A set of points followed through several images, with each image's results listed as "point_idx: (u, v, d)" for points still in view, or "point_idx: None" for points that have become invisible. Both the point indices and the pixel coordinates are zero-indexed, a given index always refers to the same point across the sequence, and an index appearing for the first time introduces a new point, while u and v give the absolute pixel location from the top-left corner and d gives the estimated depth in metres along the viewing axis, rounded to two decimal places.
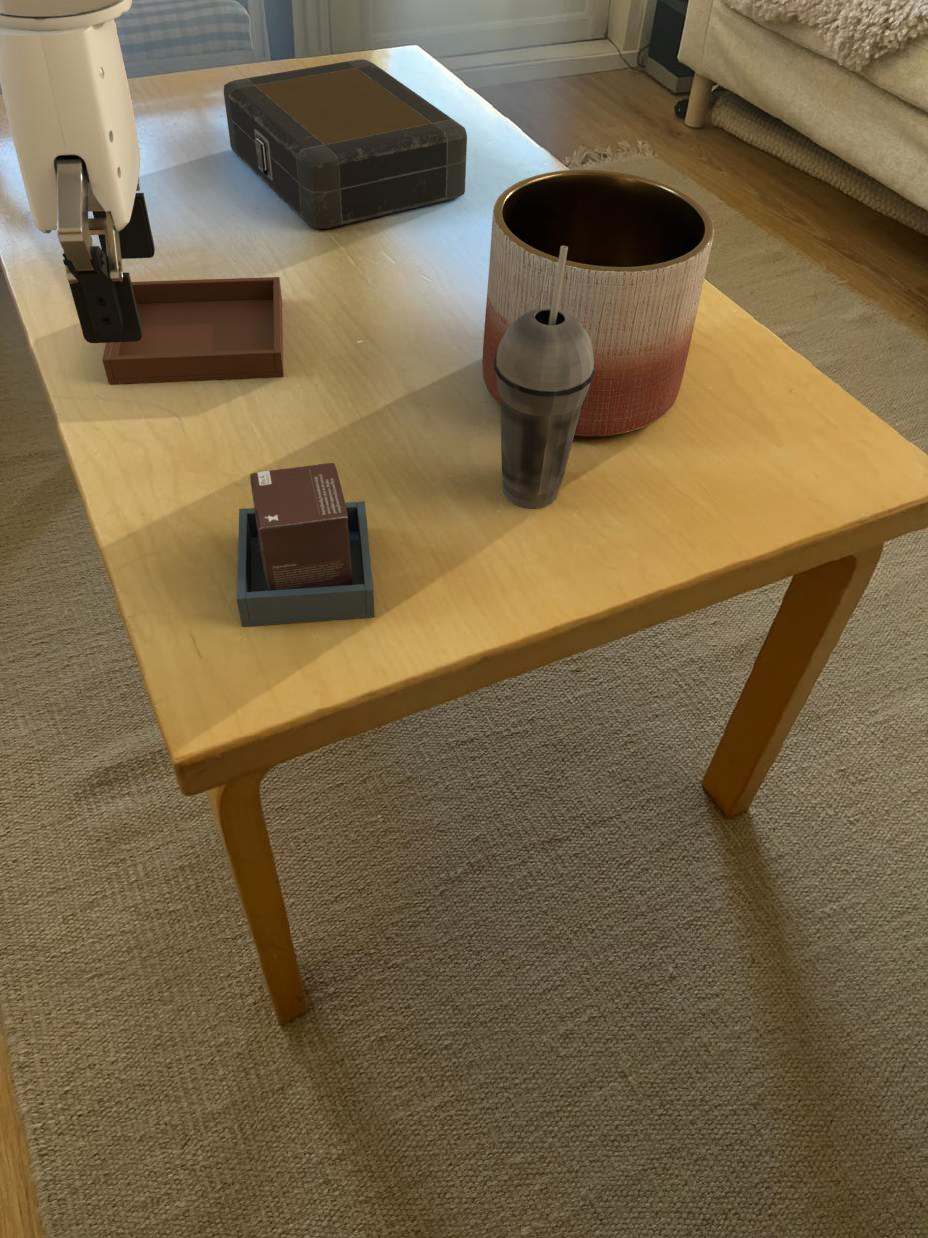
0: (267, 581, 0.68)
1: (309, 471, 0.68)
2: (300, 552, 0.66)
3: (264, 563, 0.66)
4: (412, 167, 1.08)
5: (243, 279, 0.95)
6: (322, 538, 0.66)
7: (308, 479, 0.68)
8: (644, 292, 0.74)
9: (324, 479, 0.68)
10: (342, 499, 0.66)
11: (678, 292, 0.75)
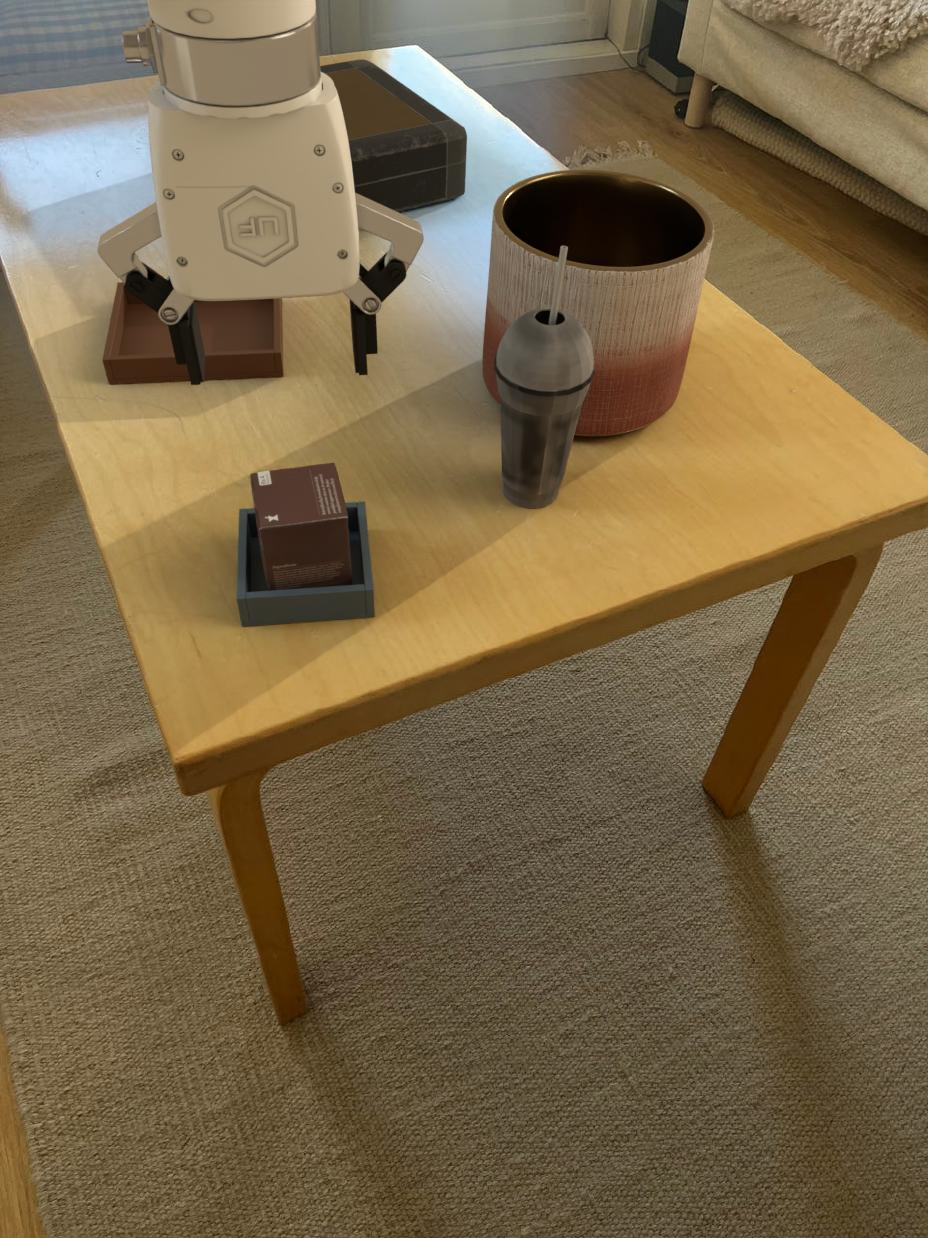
0: (267, 581, 0.68)
1: (309, 471, 0.68)
2: (300, 553, 0.66)
3: (264, 563, 0.66)
4: (412, 167, 1.08)
5: None
6: (322, 538, 0.66)
7: (308, 479, 0.68)
8: (644, 292, 0.74)
9: (324, 479, 0.68)
10: (342, 499, 0.66)
11: (678, 292, 0.75)
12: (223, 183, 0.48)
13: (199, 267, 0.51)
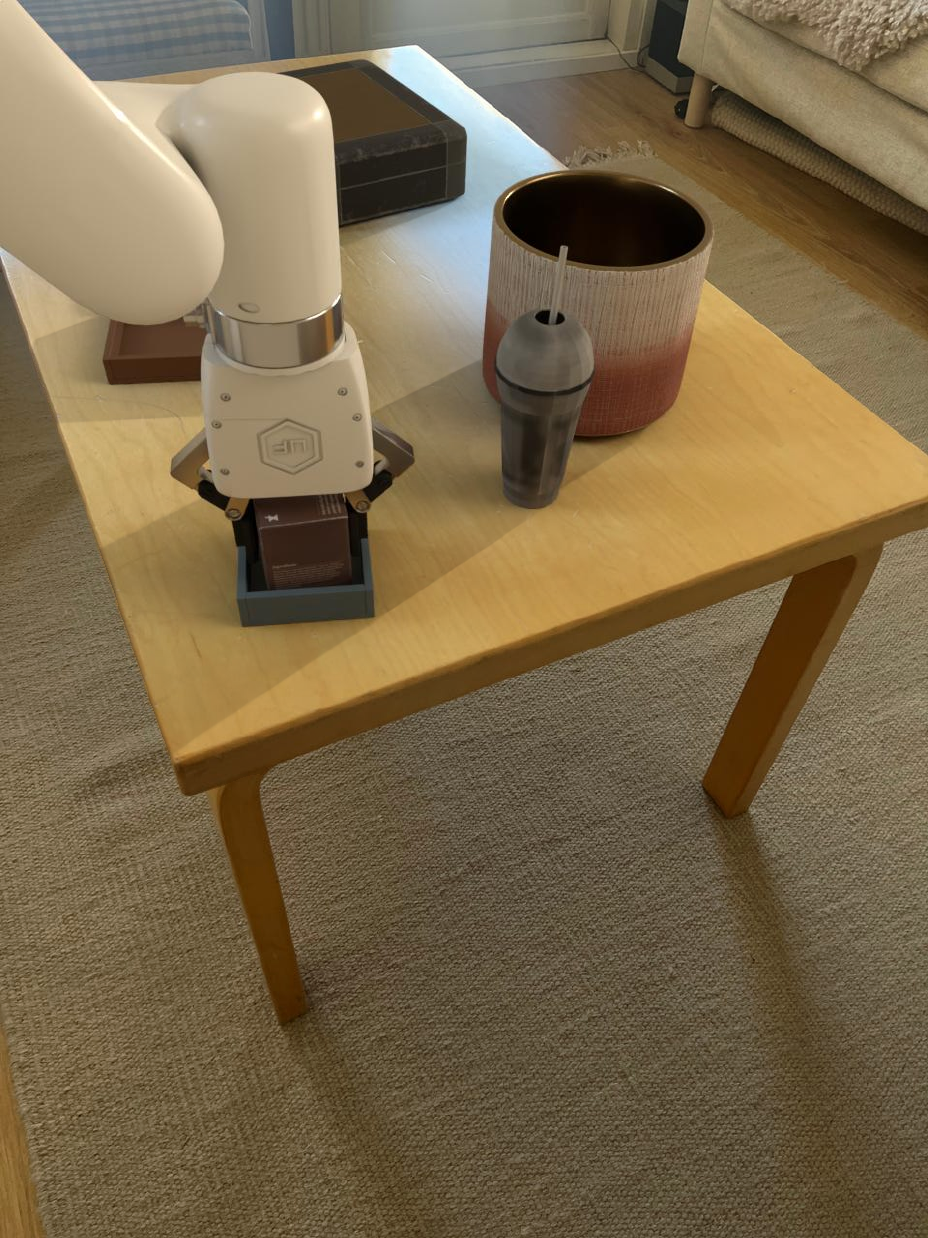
0: (267, 581, 0.68)
1: None
2: (300, 552, 0.66)
3: (264, 563, 0.66)
4: (412, 167, 1.08)
5: None
6: (322, 538, 0.66)
7: None
8: (644, 292, 0.74)
9: None
10: (342, 499, 0.66)
11: (678, 292, 0.75)
12: (262, 417, 0.58)
13: (239, 476, 0.61)
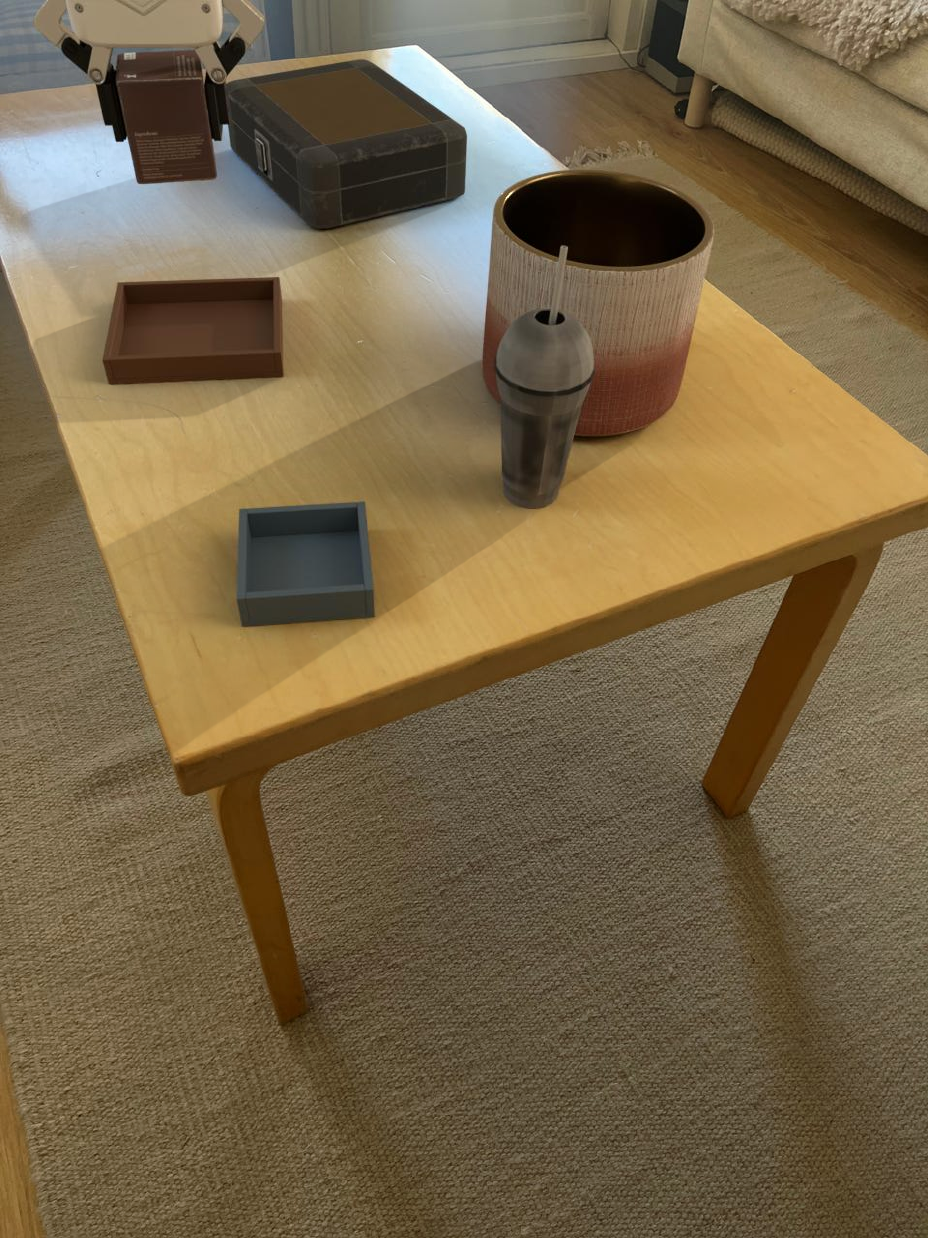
0: (131, 153, 0.72)
1: (173, 53, 0.73)
2: (160, 118, 0.71)
3: (126, 128, 0.71)
4: (412, 167, 1.08)
5: (243, 279, 0.95)
6: (180, 102, 0.71)
7: (170, 57, 0.72)
8: (644, 292, 0.74)
9: (185, 57, 0.72)
10: (199, 68, 0.71)
11: (678, 292, 0.75)
12: None
13: (92, 13, 0.66)
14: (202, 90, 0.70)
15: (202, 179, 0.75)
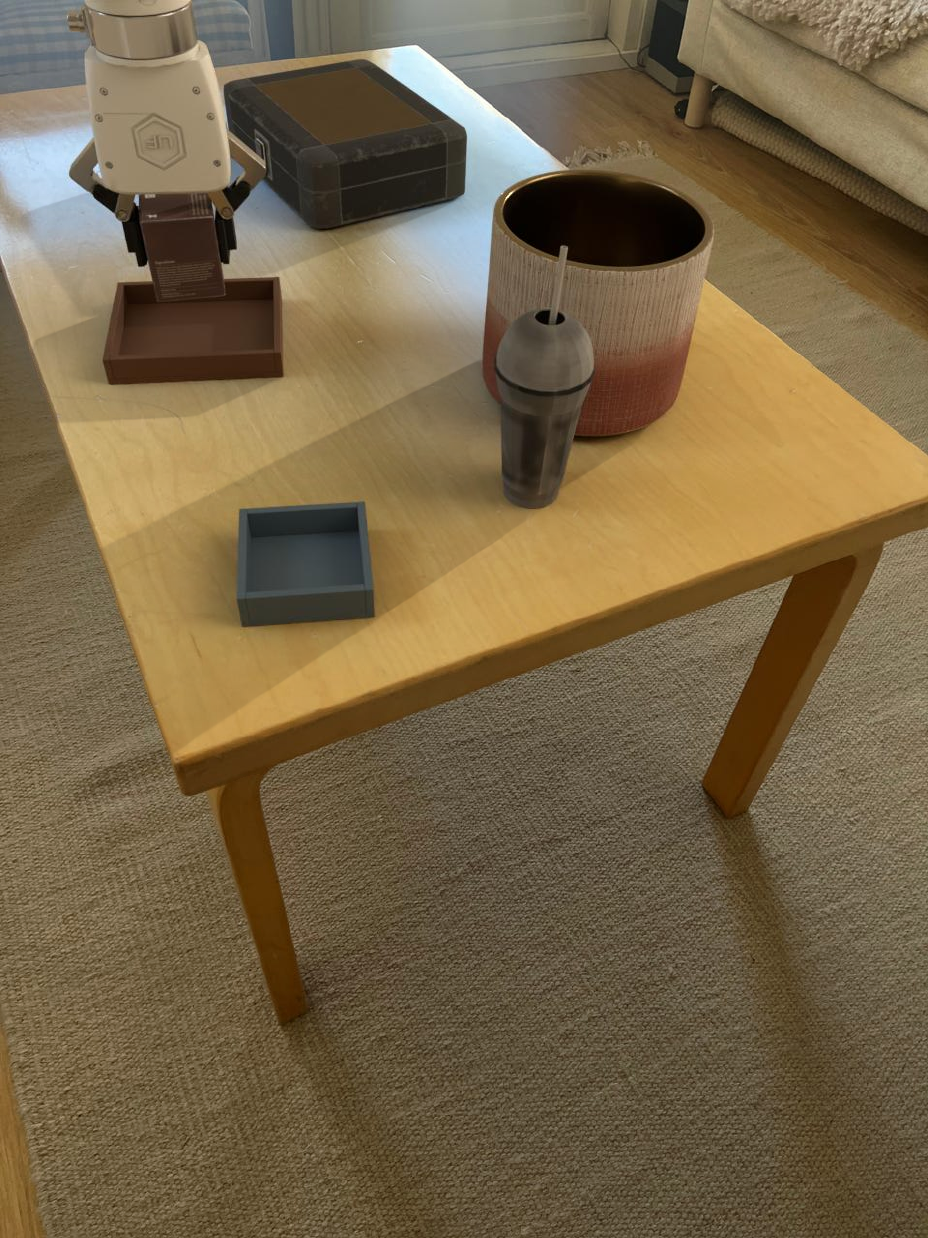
0: (152, 277, 0.84)
1: None
2: (177, 249, 0.83)
3: (148, 258, 0.83)
4: (412, 167, 1.08)
5: (243, 279, 0.95)
6: (194, 236, 0.82)
7: (185, 195, 0.84)
8: (644, 292, 0.74)
9: (198, 195, 0.84)
10: (210, 206, 0.83)
11: (678, 292, 0.75)
12: (134, 111, 0.75)
13: (120, 169, 0.78)
14: (213, 226, 0.82)
15: (213, 296, 0.86)
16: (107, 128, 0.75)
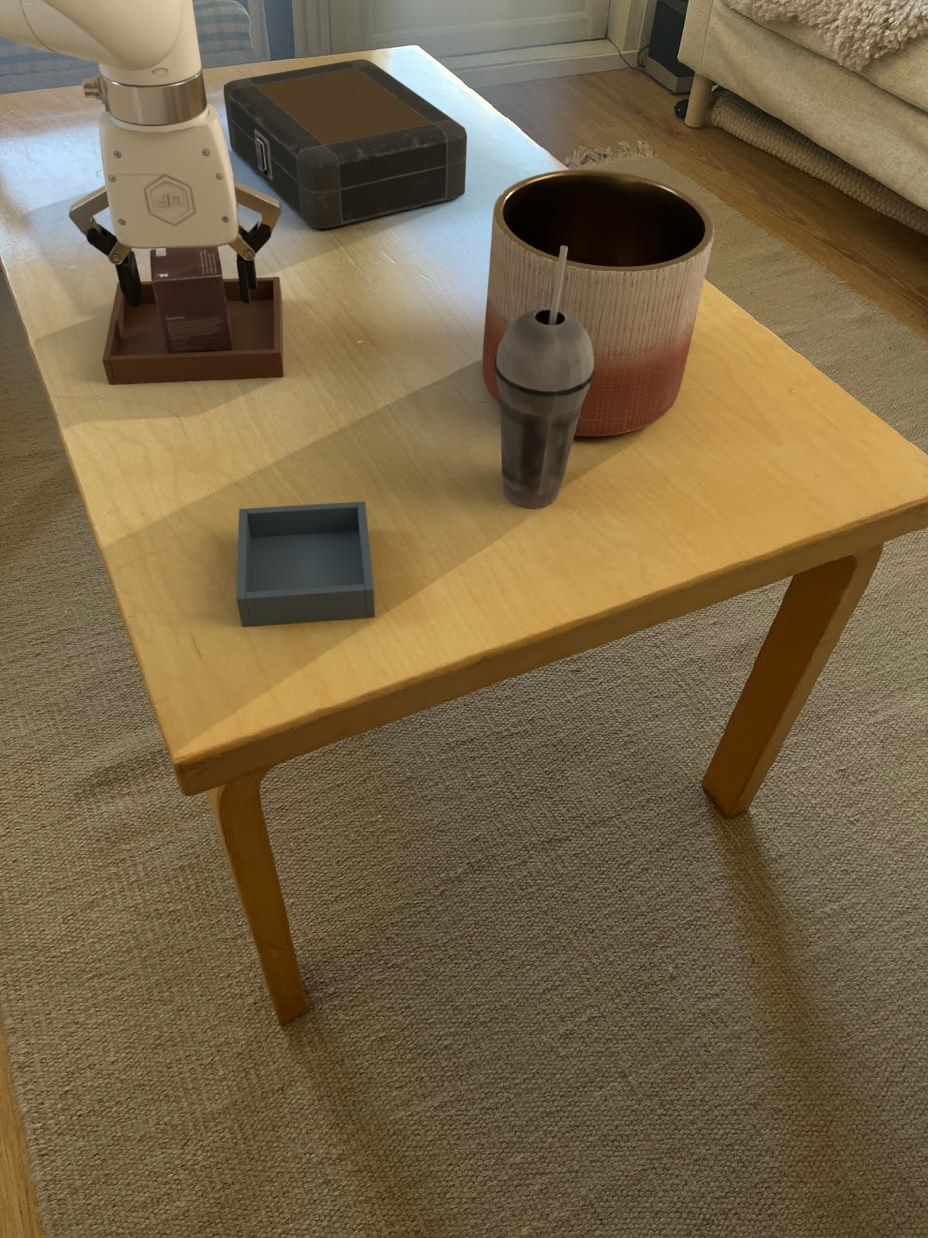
0: (163, 332, 0.88)
1: (196, 248, 0.88)
2: (187, 306, 0.86)
3: (159, 314, 0.87)
4: (412, 167, 1.08)
5: None
6: (203, 293, 0.86)
7: (194, 253, 0.88)
8: (644, 292, 0.74)
9: (206, 253, 0.88)
10: (219, 265, 0.86)
11: (678, 292, 0.75)
12: (146, 172, 0.78)
13: (133, 225, 0.81)
14: (221, 284, 0.86)
15: (221, 348, 0.90)
16: (120, 188, 0.79)
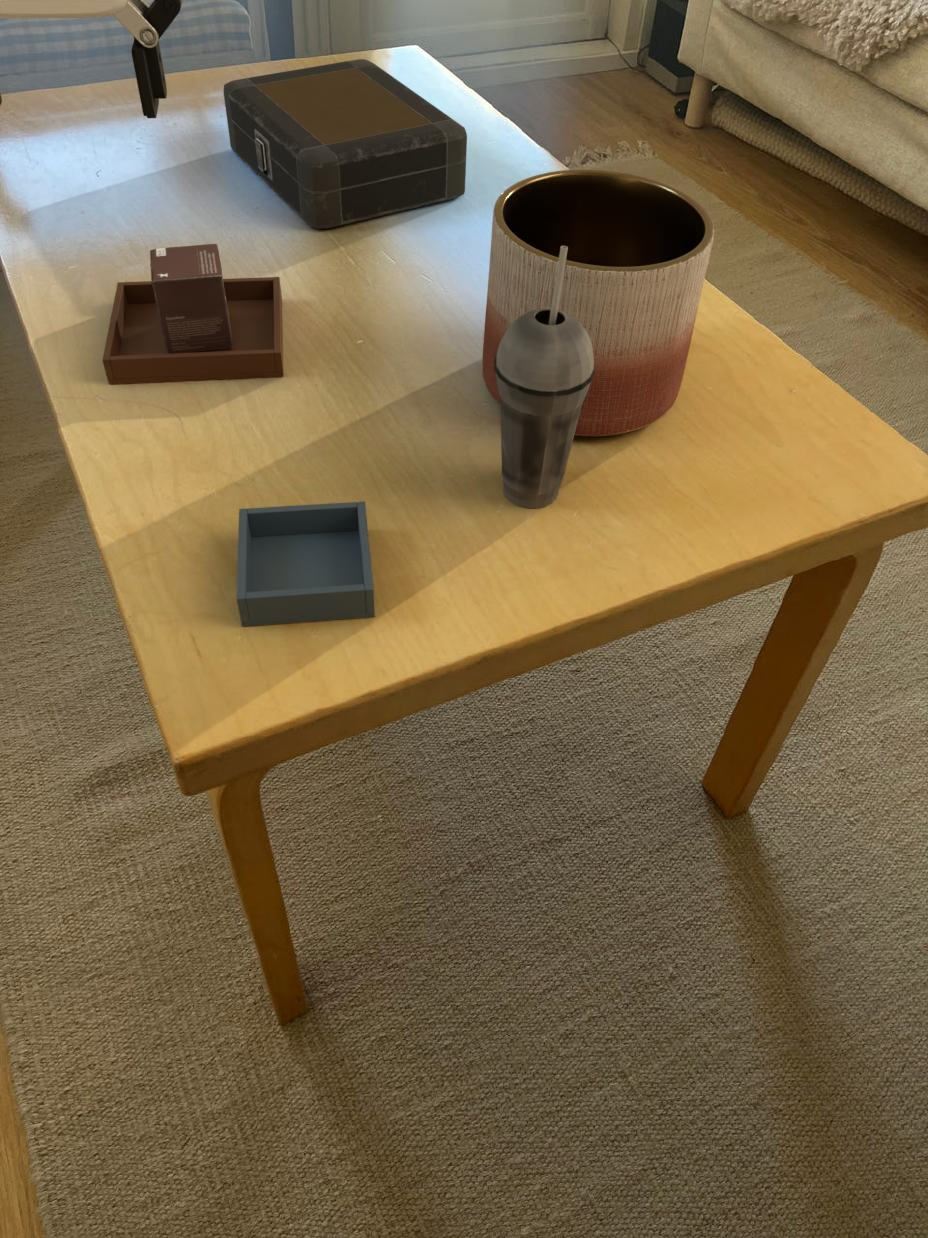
0: (163, 332, 0.88)
1: (196, 248, 0.88)
2: (187, 306, 0.86)
3: (159, 314, 0.87)
4: (412, 167, 1.08)
5: (243, 279, 0.95)
6: (203, 293, 0.86)
7: (194, 253, 0.88)
8: (644, 292, 0.74)
9: (207, 253, 0.88)
10: (219, 265, 0.86)
11: (678, 292, 0.75)
12: None
13: None
14: (221, 284, 0.86)
15: (221, 348, 0.90)
16: None
